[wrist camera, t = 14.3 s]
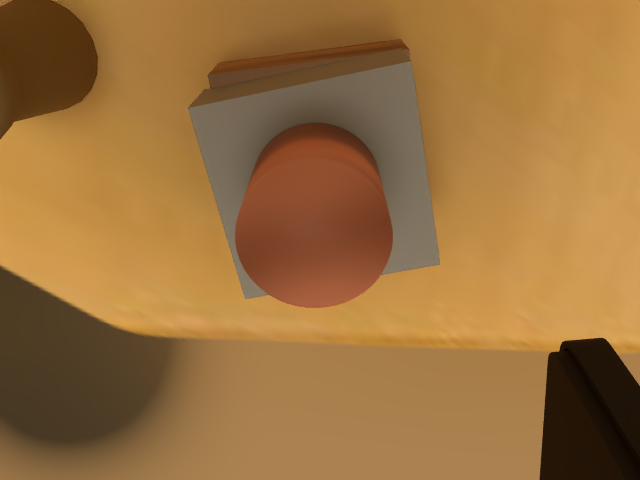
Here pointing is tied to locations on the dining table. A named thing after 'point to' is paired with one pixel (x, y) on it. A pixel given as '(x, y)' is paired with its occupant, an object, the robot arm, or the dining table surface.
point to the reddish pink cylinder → (314, 218)
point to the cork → (42, 60)
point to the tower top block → (331, 108)
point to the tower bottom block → (293, 62)
